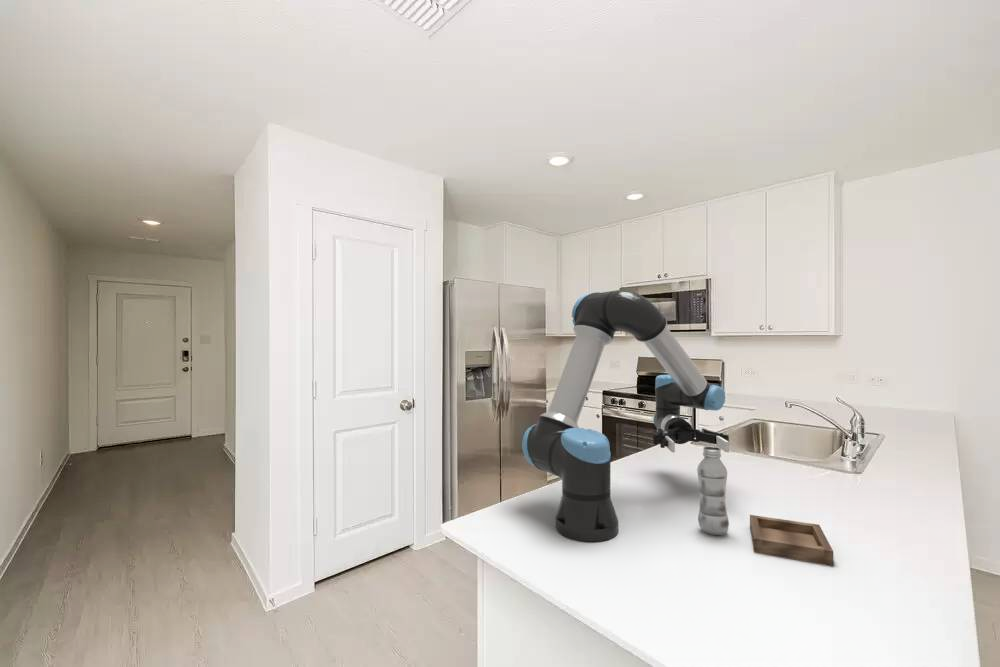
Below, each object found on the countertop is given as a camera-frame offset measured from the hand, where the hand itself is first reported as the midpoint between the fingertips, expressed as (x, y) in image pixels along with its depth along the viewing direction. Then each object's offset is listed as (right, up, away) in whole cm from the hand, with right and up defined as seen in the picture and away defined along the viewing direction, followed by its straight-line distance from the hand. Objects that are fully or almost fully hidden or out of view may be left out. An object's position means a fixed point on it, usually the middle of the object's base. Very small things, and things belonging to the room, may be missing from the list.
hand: (700, 447), depth 116 cm
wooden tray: (+12, -18, -17) cm, 27 cm away
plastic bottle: (-1, -18, -10) cm, 21 cm away
